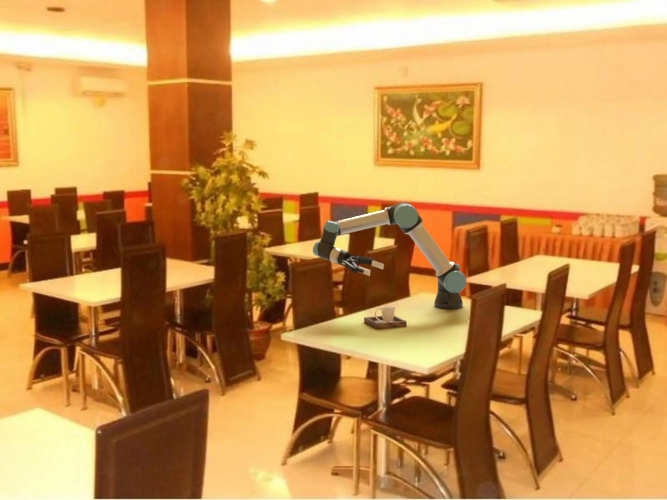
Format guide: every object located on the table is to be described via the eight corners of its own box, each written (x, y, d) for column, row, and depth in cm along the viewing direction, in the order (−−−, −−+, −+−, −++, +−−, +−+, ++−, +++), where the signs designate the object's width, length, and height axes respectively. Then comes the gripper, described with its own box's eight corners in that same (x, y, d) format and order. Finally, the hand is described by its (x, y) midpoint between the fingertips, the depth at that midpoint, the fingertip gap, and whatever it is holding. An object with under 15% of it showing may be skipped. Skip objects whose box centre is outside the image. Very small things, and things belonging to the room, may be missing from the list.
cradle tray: (392, 319, 353) (392, 314, 353) (406, 326, 339) (406, 321, 339) (364, 322, 348) (364, 317, 348) (377, 329, 334) (377, 324, 333)
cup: (393, 325, 338) (393, 308, 337) (373, 323, 341) (373, 307, 340) (396, 321, 345) (396, 305, 344) (376, 320, 348) (376, 304, 347)
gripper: (352, 258, 372) (387, 271, 362) (326, 269, 351) (362, 283, 341) (354, 245, 369) (389, 257, 359) (328, 255, 349) (365, 268, 339)
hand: (376, 270), depth 350 cm, fingers open, 13 cm apart
